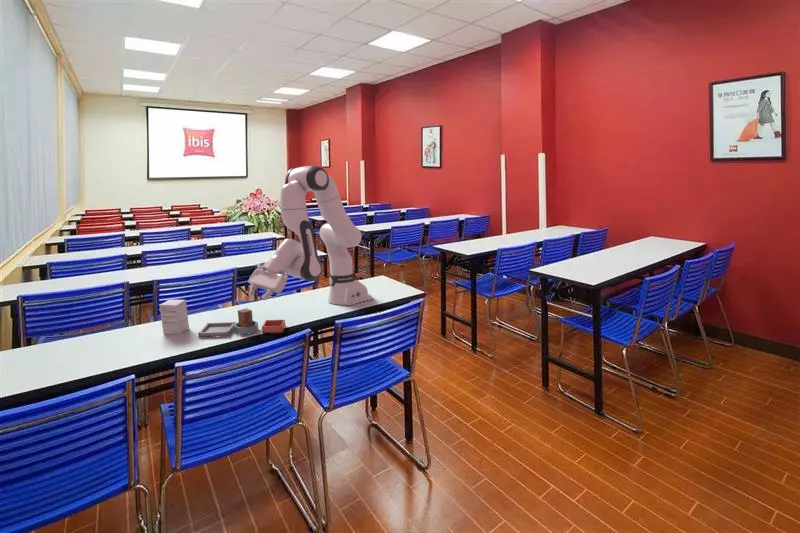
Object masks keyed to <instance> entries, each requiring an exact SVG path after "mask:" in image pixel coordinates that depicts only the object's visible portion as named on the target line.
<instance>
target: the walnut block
mask: <svg viewBox="0 0 800 533" xmlns="http://www.w3.org/2000/svg"><path fill="white" fill-rule="evenodd" d="M237 317H238V318H237V320H238V322H239V327H250V326H253V321H254V320H253V311H252V309H250V308H248V307H246V308H242V309H238V310H237Z"/></svg>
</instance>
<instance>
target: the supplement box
mask: <svg viewBox="0 0 800 533" xmlns="http://www.w3.org/2000/svg"><path fill="white" fill-rule="evenodd" d="M159 311H160V317H161V325H162V334H164V335H181V334H183V333H184V332H185V331H187V330H188V329H190V324H189V317H188V307H187V300H186V299H168V300H166V301H165V302H162V303H160V304H159Z"/></svg>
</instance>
